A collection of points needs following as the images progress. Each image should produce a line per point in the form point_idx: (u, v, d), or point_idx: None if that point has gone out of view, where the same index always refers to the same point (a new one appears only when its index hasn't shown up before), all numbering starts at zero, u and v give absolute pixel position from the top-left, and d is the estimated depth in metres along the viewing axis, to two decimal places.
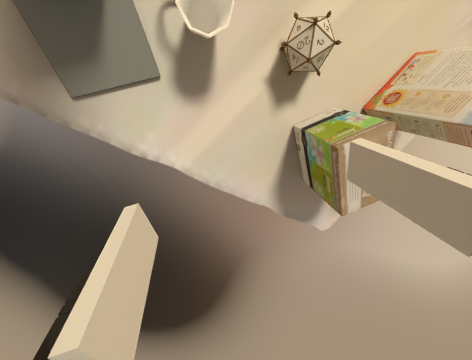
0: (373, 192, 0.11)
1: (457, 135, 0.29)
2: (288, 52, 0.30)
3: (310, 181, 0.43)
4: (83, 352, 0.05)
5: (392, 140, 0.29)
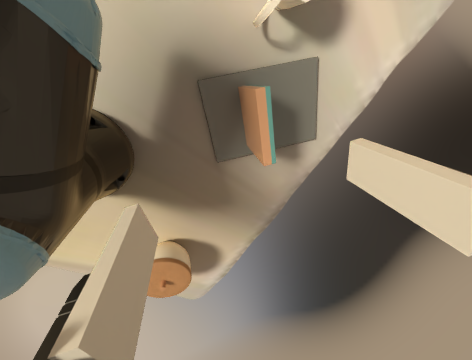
0: (373, 192, 0.11)
1: None
2: None
3: None
4: (83, 352, 0.05)
5: None
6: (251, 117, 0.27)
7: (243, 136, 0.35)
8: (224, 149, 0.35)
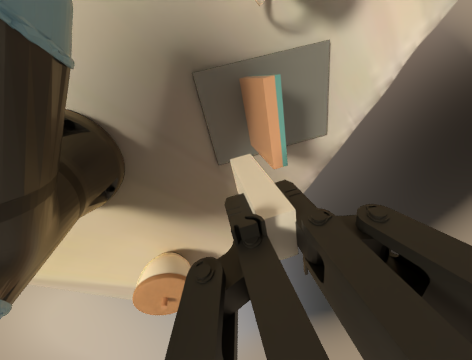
0: None
1: None
2: None
3: None
4: (276, 221, 0.08)
5: None
6: (257, 113, 0.23)
7: (246, 134, 0.31)
8: (226, 150, 0.31)
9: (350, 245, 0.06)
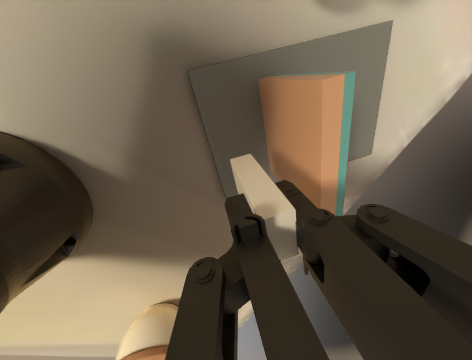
0: None
1: None
2: None
3: None
4: (276, 221, 0.08)
5: None
6: (292, 135, 0.14)
7: (265, 158, 0.22)
8: None
9: (350, 245, 0.06)
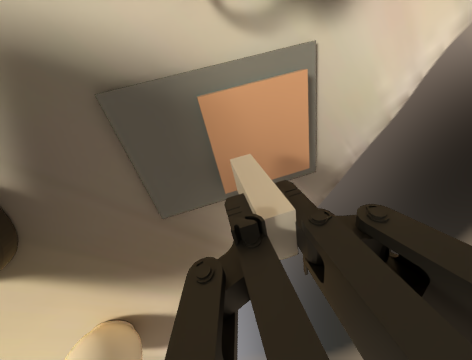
0: None
1: None
2: None
3: None
4: (276, 221, 0.08)
5: None
6: (273, 123, 0.18)
7: (198, 178, 0.21)
8: (170, 200, 0.22)
9: (350, 245, 0.06)
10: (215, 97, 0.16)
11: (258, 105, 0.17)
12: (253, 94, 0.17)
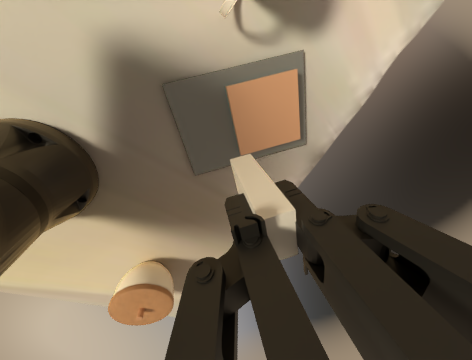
0: None
1: None
2: None
3: None
4: (276, 221, 0.08)
5: None
6: (274, 104, 0.27)
7: (222, 145, 0.30)
8: (201, 160, 0.31)
9: (350, 245, 0.06)
10: (237, 86, 0.25)
11: (265, 92, 0.26)
12: (262, 85, 0.26)
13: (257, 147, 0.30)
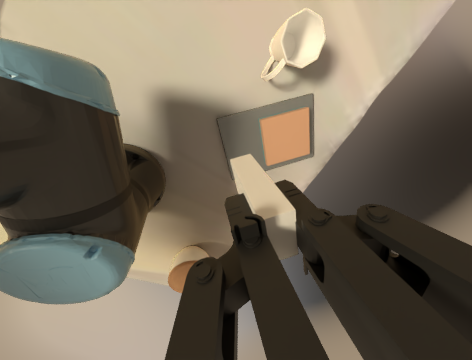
0: None
1: None
2: None
3: None
4: (276, 221, 0.08)
5: None
6: (292, 131, 0.39)
7: None
8: None
9: (350, 245, 0.06)
10: (268, 120, 0.37)
11: (286, 123, 0.38)
12: (284, 118, 0.37)
13: (279, 160, 0.42)
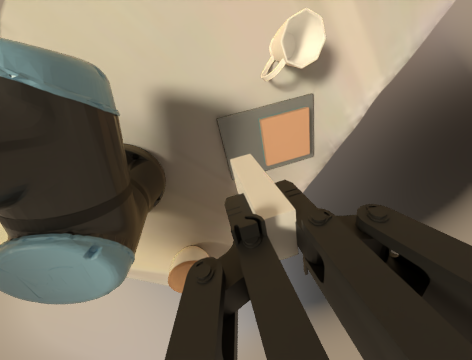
0: None
1: None
2: None
3: None
4: (276, 221, 0.08)
5: None
6: (292, 131, 0.39)
7: None
8: None
9: (350, 245, 0.06)
10: (268, 120, 0.37)
11: (286, 123, 0.38)
12: (284, 118, 0.37)
13: (279, 160, 0.42)
